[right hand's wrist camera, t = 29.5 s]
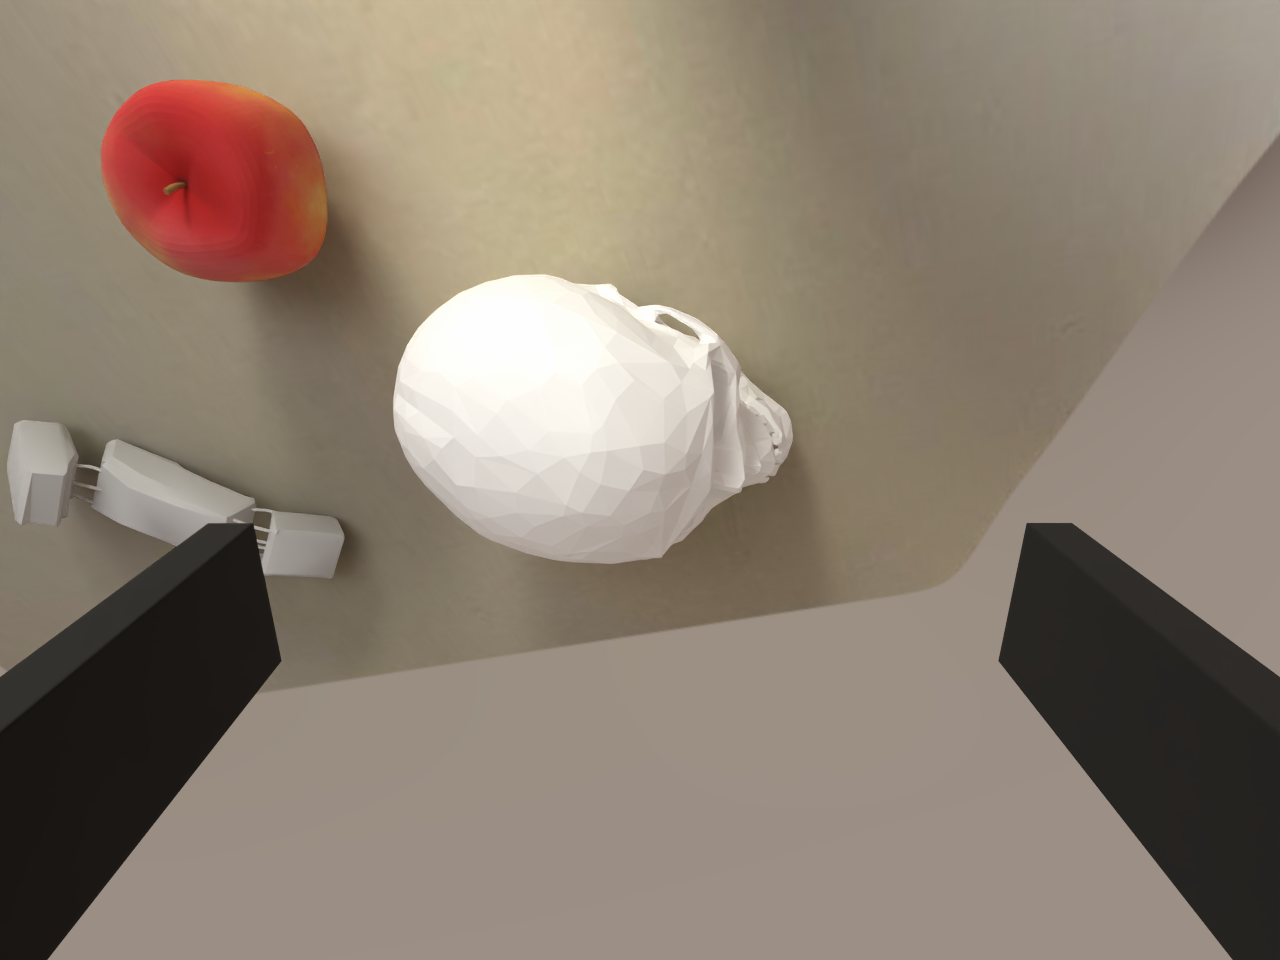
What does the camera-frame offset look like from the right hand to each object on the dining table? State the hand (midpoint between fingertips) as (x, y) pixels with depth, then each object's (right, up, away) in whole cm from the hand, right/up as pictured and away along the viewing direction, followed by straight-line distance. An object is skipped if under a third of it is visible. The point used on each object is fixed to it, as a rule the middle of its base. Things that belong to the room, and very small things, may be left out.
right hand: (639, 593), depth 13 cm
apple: (-20, +18, +29) cm, 40 cm away
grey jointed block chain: (-29, +1, +35) cm, 45 cm away
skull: (-1, +7, +33) cm, 34 cm away
